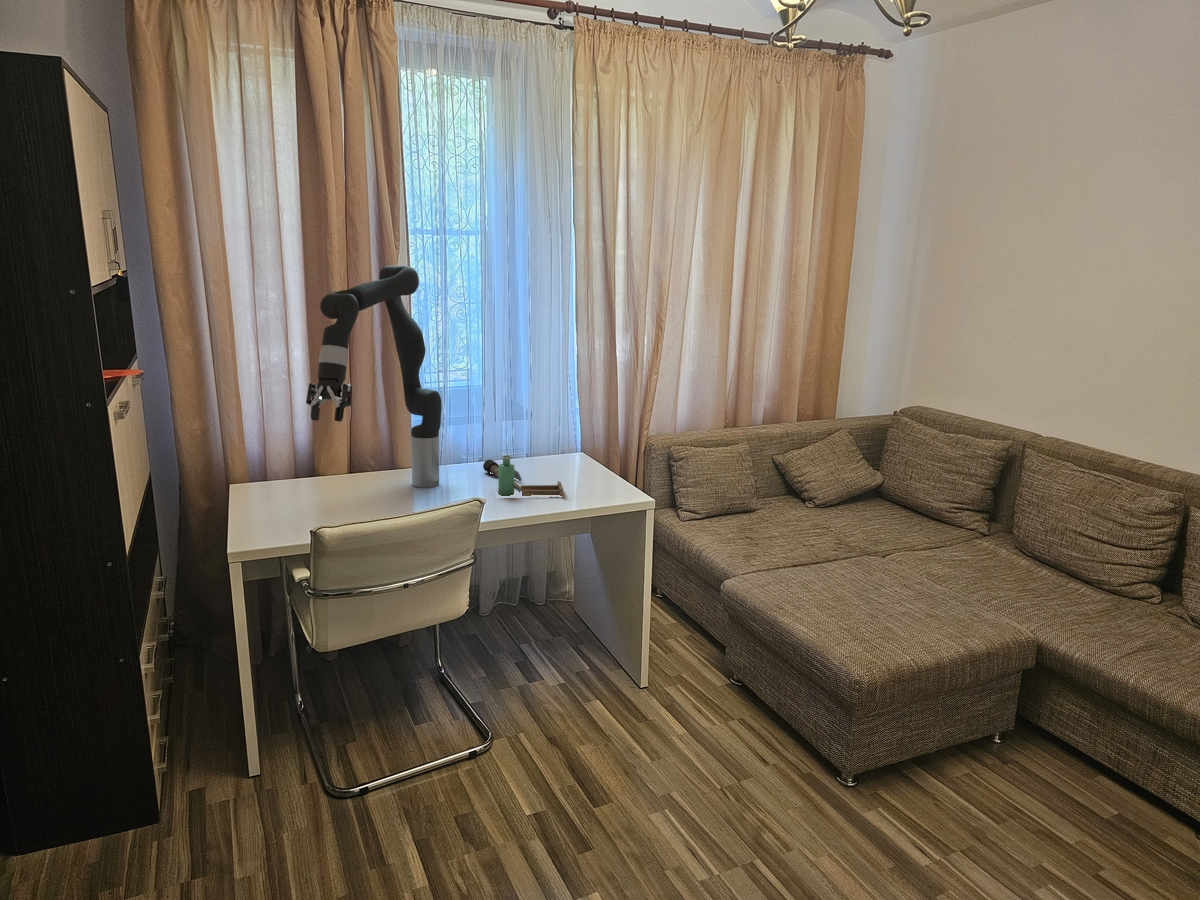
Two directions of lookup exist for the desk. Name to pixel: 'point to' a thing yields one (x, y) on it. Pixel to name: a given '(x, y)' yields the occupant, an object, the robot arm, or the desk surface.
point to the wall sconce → (494, 468)
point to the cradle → (542, 489)
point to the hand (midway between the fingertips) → (326, 420)
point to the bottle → (506, 477)
